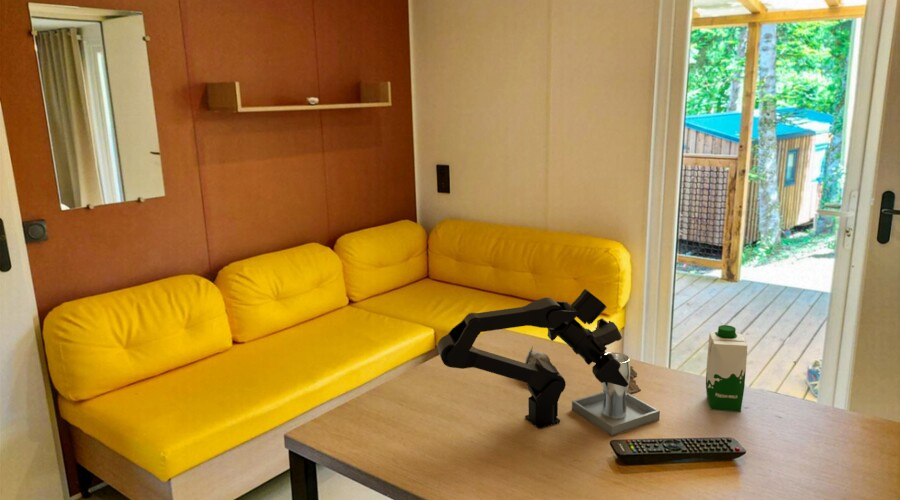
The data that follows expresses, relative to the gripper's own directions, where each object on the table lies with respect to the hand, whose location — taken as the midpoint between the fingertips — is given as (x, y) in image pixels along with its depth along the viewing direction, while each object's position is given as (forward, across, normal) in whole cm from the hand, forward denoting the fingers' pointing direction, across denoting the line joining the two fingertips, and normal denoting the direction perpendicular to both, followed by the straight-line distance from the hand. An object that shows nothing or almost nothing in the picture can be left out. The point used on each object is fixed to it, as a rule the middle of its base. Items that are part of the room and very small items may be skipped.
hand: (621, 377), depth 156 cm
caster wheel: (-4, +23, +18) cm, 30 cm away
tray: (+6, 0, +8) cm, 10 cm away
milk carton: (+27, +2, -12) cm, 29 cm away
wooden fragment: (+12, +22, +3) cm, 26 cm away
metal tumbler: (+6, 0, +8) cm, 10 cm away
